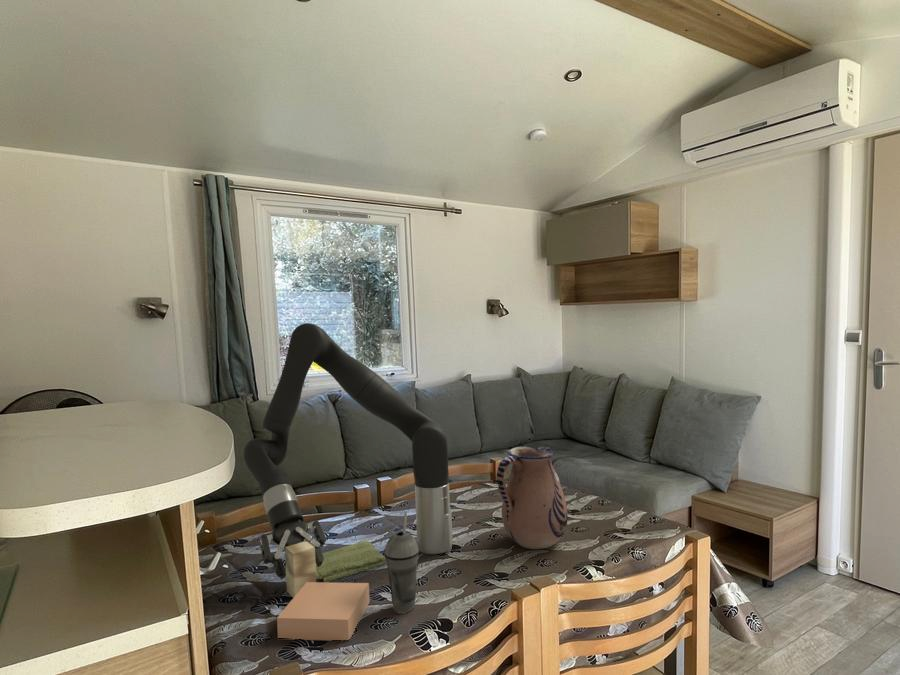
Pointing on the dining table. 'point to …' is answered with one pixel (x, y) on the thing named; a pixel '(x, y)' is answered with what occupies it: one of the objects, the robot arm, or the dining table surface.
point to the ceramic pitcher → (532, 498)
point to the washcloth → (349, 561)
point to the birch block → (299, 566)
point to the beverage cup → (402, 569)
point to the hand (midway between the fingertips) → (302, 570)
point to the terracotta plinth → (324, 611)
